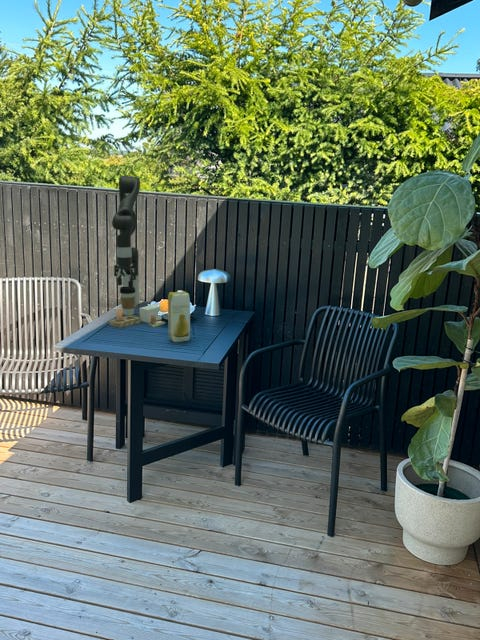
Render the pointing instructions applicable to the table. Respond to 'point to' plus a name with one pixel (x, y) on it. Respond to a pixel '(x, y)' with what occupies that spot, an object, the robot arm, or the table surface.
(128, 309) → the coffee cup
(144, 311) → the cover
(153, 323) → the pattern board
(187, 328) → the juice carton
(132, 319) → the socket board
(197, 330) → the table surface
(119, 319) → the terracotta peg
